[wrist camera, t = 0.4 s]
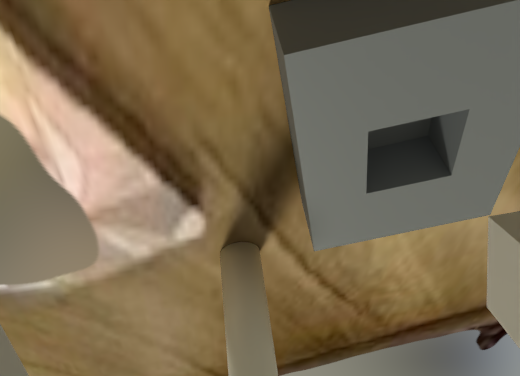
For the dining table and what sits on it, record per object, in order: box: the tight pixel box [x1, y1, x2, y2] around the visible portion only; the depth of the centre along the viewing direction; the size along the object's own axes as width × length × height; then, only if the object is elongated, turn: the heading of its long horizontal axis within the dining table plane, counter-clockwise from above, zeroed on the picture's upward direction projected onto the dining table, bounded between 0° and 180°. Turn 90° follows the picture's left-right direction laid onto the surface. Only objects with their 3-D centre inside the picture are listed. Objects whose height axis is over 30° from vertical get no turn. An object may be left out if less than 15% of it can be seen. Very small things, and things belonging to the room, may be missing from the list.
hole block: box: [269, 0, 520, 251], centre depth 27 cm, size 18×14×5 cm
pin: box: [220, 242, 278, 376], centre depth 36 cm, size 4×4×15 cm
